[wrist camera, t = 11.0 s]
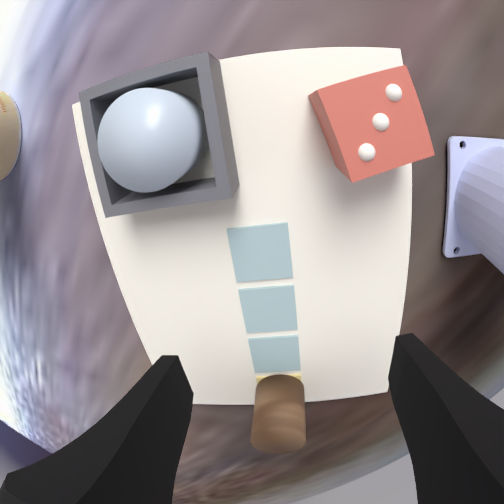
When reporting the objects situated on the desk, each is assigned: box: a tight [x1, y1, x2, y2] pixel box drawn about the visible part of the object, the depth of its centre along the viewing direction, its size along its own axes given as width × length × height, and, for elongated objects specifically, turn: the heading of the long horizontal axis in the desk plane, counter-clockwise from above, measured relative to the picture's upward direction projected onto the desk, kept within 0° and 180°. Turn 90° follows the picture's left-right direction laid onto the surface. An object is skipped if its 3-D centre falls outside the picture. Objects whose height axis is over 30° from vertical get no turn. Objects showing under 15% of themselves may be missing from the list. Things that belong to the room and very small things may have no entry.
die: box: [308, 65, 435, 183], centre depth 12 cm, size 4×4×4 cm
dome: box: [97, 88, 209, 193], centre depth 14 cm, size 5×5×3 cm
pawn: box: [250, 374, 306, 454], centre depth 21 cm, size 4×4×5 cm
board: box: [72, 47, 412, 405], centre depth 18 cm, size 19×25×4 cm
